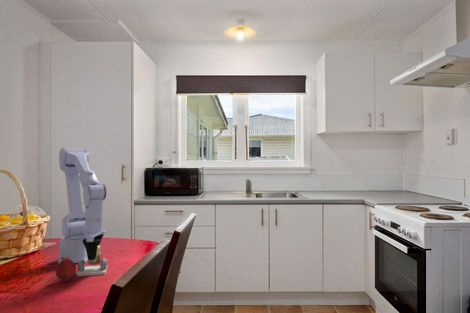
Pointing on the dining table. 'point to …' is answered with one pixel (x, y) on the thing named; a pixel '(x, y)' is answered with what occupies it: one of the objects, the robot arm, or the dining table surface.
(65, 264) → the onion
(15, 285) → the dining table surface
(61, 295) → the dining table surface
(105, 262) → the fitting
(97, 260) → the cylinder
